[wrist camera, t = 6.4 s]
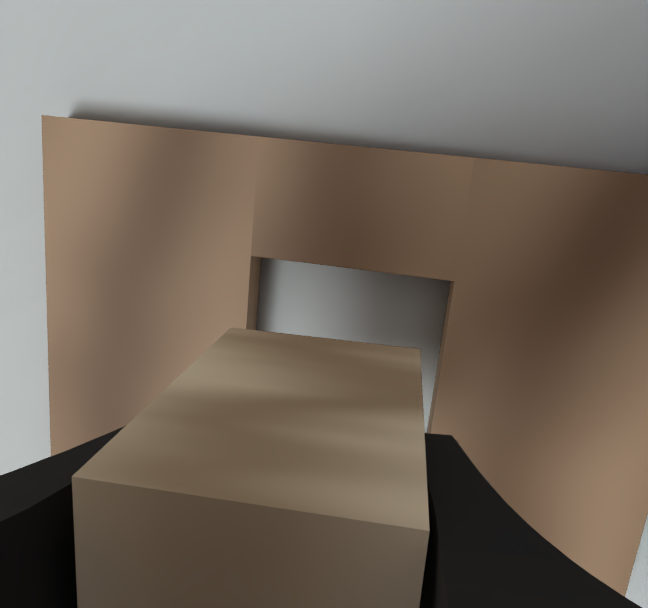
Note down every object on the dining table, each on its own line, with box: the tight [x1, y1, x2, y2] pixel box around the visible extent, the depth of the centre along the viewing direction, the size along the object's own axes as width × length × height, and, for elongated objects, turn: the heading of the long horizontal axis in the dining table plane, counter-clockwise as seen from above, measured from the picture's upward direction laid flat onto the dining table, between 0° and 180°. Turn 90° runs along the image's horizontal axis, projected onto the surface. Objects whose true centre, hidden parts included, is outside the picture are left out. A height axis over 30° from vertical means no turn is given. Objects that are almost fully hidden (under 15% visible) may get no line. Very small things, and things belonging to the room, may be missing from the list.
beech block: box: [72, 328, 430, 608], centre depth 10 cm, size 4×4×6 cm
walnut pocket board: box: [42, 115, 648, 597], centre depth 17 cm, size 18×12×1 cm, turn 84°
